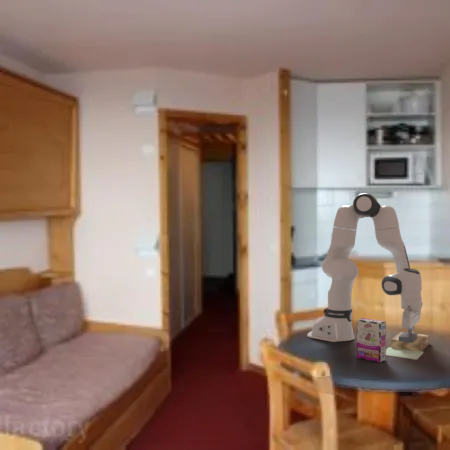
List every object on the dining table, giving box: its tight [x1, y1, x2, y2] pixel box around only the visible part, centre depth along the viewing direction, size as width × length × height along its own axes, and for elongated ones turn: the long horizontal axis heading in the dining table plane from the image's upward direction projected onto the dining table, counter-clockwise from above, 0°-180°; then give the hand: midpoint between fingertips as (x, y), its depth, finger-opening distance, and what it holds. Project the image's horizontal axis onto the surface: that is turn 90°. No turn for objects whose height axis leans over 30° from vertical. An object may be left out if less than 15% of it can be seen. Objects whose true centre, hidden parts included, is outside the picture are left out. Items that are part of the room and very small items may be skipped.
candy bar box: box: [356, 317, 387, 363], centre depth 230 cm, size 11×5×16 cm, turn 45°
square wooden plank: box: [390, 331, 430, 352], centre depth 250 cm, size 13×16×4 cm
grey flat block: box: [399, 332, 418, 343], centre depth 246 cm, size 6×9×2 cm, turn 149°
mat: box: [386, 346, 425, 361], centre depth 238 cm, size 15×13×1 cm
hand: (411, 334), depth 251 cm, fingers closed
